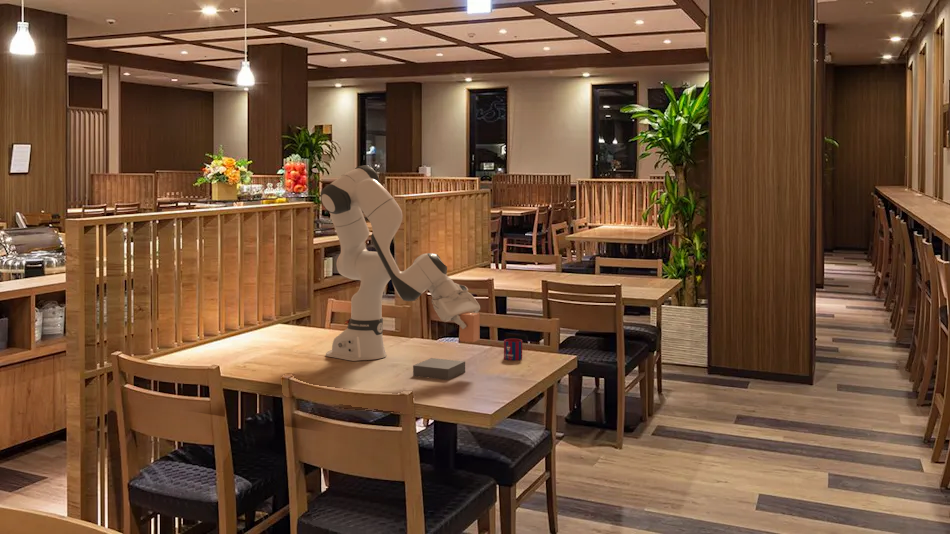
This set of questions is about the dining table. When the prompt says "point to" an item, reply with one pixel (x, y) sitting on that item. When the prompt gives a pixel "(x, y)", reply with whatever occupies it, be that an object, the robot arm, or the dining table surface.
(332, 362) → the dining table surface
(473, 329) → the terracotta column
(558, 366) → the dining table surface
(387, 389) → the dining table surface
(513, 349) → the mug
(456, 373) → the grey flat block
